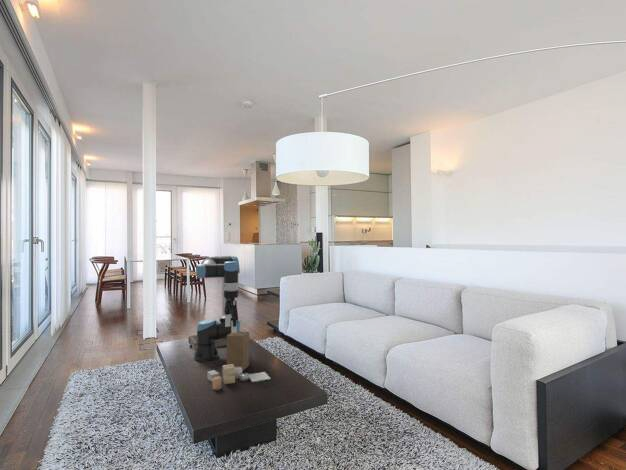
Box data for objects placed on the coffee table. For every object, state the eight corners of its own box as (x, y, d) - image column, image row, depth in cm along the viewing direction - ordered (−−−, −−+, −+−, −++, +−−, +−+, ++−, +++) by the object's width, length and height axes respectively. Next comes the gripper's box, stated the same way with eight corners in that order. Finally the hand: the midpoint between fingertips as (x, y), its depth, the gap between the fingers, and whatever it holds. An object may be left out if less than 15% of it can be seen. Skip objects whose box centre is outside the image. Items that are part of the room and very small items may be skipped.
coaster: (247, 375, 198) (247, 374, 198) (264, 372, 202) (264, 371, 202) (252, 382, 189) (252, 381, 189) (270, 379, 193) (270, 378, 193)
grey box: (207, 379, 194) (207, 371, 194) (214, 377, 196) (214, 370, 196) (212, 382, 189) (212, 374, 189) (219, 380, 192) (219, 373, 192)
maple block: (222, 380, 191) (222, 365, 191) (232, 379, 194) (232, 364, 194) (224, 384, 186) (224, 368, 186) (235, 382, 189) (235, 367, 189)
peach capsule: (211, 387, 183) (211, 377, 183) (220, 385, 185) (220, 375, 185) (213, 390, 179) (213, 380, 179) (222, 389, 181) (222, 379, 181)
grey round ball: (238, 379, 194) (238, 373, 194) (247, 377, 196) (247, 372, 196) (240, 382, 189) (240, 376, 189) (249, 380, 191) (250, 375, 191)
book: (194, 351, 244) (194, 343, 244) (188, 342, 263) (188, 335, 263) (238, 344, 258) (238, 337, 258) (229, 337, 278) (229, 331, 278)
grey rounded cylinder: (233, 376, 197) (233, 367, 197) (241, 375, 199) (241, 366, 199) (235, 379, 193) (235, 369, 194) (242, 377, 195) (242, 368, 195)
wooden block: (242, 371, 204) (242, 336, 205) (226, 370, 206) (226, 335, 207) (249, 365, 214) (249, 331, 214) (233, 364, 216) (233, 331, 216)
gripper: (219, 287, 205) (218, 324, 205) (229, 294, 182) (229, 336, 182) (232, 286, 208) (231, 323, 208) (244, 293, 186) (244, 334, 186)
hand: (230, 329), depth 195 cm, fingers open, 13 cm apart
